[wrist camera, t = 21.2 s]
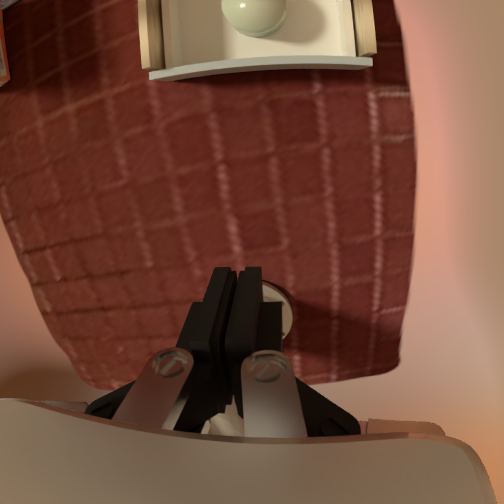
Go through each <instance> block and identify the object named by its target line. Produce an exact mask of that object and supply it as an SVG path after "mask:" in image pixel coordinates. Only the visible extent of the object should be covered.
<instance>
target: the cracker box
mask: <svg viewBox="0 0 504 504" xmlns="http://www.w3.org/2000/svg"><path fill="white" fill-rule="evenodd" d="M9 80H10V72H9V66H8V60H7V53H6V45H5V37H4V27H3V13H2V9H0V87H1V86H2V85H4V84H5V83H6V82H7V81H9Z"/></svg>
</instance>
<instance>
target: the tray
mask: <svg viewBox="0 0 504 504" xmlns="http://www.w3.org/2000/svg"><path fill="white" fill-rule="evenodd" d="M161 4H162V22H163V37H164V50H165V62H166V69H163V70H158V71H153V72H149V78H150V80H159V81H174V80H180V79H186V78H193V77H200V76H208V75H216V74H225V73H235V72H246V71H260V70H279V69H346V70H360V69H364V68H367V67H370V66H373V61H372V58H368V57H356V53H355V41H354V30H353V20H352V11H351V2H350V0H286V12H285V20H284V22H283V24H282V26H281V27H280V28H279V29H278V30H277V31H276V32H274V33H273V34H271V35H269V36H266V37H260V38H253V37H248V36H245V35H243V34H241V33H239V32H238V31H237V30H235V28H234V27H233V26H232V25H231V23H230V22H229V21H228V20H227V18H226V17H225V15H224V13H223V10H222V0H161Z"/></svg>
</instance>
